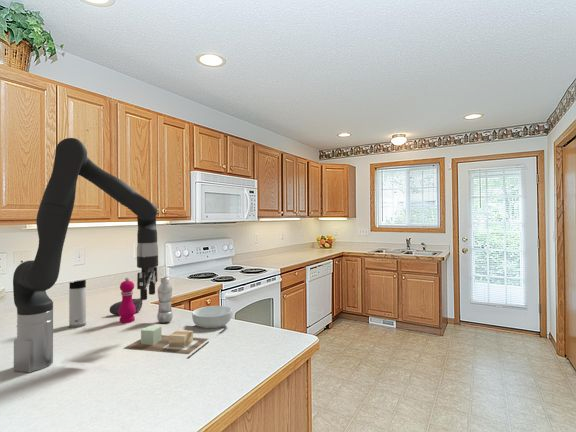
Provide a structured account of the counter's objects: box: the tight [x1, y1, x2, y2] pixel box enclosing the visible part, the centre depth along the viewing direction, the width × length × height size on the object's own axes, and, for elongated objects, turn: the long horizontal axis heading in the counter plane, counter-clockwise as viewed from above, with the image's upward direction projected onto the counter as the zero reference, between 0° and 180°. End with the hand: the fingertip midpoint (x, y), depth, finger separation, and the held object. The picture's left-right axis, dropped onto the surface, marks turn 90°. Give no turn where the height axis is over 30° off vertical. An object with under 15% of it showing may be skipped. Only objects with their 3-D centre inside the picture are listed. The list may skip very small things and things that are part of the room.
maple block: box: [168, 329, 194, 348], centre depth 122 cm, size 6×6×4 cm
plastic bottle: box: [156, 276, 173, 324], centre depth 154 cm, size 6×7×20 cm
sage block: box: [140, 325, 162, 345], centre depth 125 cm, size 5×5×5 cm
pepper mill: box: [118, 277, 137, 324], centre depth 156 cm, size 7×7×20 cm
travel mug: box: [68, 279, 87, 329], centre depth 150 cm, size 6×7×20 cm
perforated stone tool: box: [109, 297, 144, 316], centre depth 169 cm, size 15×5×7 cm, turn 117°
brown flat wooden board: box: [122, 334, 210, 360], centre depth 123 cm, size 15×25×2 cm, turn 77°
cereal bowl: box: [191, 305, 233, 329], centre depth 147 cm, size 17×17×7 cm
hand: (148, 297), depth 130 cm, fingers open, 8 cm apart
